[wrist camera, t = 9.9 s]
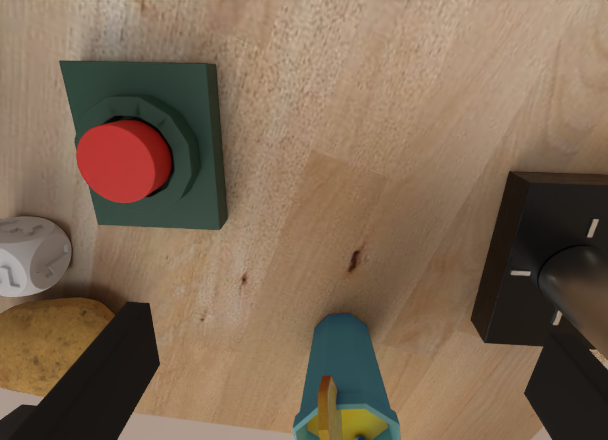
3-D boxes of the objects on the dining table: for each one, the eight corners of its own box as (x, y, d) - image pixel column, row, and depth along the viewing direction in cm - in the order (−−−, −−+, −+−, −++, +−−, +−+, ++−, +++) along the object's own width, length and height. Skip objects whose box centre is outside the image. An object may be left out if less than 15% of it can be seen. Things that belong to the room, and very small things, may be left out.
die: (74, 270, 32) (32, 303, 28) (21, 260, 32) (-30, 291, 27) (69, 222, 30) (23, 249, 26) (13, 211, 30) (-43, 236, 26)
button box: (227, 219, 29) (213, 240, 25) (113, 214, 30) (83, 234, 26) (216, 64, 24) (196, 62, 21) (80, 61, 25) (37, 59, 21)
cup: (412, 375, 35) (468, 574, 21) (343, 399, 37) (353, 596, 23) (347, 270, 30) (365, 434, 17) (274, 304, 32) (234, 475, 18)
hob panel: (583, 325, 31) (609, 352, 28) (470, 319, 32) (484, 344, 29) (647, 176, 26) (688, 189, 23) (509, 171, 26) (531, 183, 23)
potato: (150, 357, 36) (112, 418, 30) (36, 356, 37) (-24, 414, 31) (128, 282, 32) (80, 334, 26) (3, 283, 33) (-74, 332, 27)
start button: (176, 192, 25) (160, 205, 22) (108, 189, 25) (86, 202, 22) (166, 120, 23) (148, 125, 20) (93, 118, 23) (66, 123, 20)
